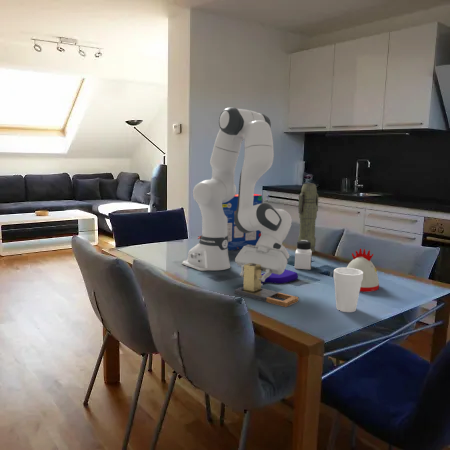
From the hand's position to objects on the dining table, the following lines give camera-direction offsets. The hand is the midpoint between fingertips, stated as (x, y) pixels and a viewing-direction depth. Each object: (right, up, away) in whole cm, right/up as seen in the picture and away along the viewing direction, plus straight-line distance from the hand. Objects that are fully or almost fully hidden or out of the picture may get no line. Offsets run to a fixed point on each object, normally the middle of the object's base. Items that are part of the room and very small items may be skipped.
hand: (251, 278), depth 168 cm
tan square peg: (0, -6, +1) cm, 6 cm away
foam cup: (+31, -9, -13) cm, 35 cm away
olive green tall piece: (+33, +6, +72) cm, 79 cm away
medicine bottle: (+25, 0, +40) cm, 47 cm away
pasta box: (-5, +7, +77) cm, 77 cm away
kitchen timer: (+43, -5, +13) cm, 45 cm away
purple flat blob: (+8, -4, +17) cm, 20 cm away
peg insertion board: (+5, -6, -2) cm, 8 cm away
